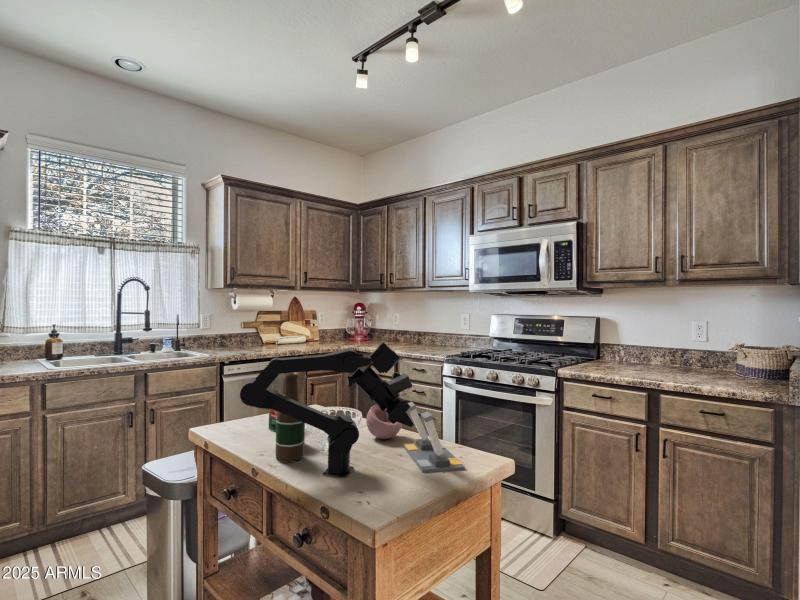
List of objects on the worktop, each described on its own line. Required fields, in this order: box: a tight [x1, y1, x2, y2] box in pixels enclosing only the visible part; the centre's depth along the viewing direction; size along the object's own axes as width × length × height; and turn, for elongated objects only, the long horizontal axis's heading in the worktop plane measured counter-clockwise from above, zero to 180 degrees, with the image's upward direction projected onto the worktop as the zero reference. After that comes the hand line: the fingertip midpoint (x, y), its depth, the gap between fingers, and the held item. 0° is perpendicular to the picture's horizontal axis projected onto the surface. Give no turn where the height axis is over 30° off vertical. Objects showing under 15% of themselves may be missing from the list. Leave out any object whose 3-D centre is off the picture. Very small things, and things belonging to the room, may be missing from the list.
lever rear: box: [407, 401, 430, 443], centre depth 138 cm, size 2×4×12 cm, turn 13°
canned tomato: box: [268, 394, 284, 432], centre depth 158 cm, size 8×8×11 cm
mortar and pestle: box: [366, 404, 403, 440], centre depth 149 cm, size 12×12×12 cm
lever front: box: [420, 411, 444, 459], centre depth 125 cm, size 2×4×12 cm, turn 13°
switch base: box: [402, 438, 466, 473], centre depth 132 cm, size 12×22×2 cm, turn 13°
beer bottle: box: [275, 373, 305, 464], centre depth 128 cm, size 8×8×24 cm
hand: (412, 425), depth 123 cm, fingers closed
